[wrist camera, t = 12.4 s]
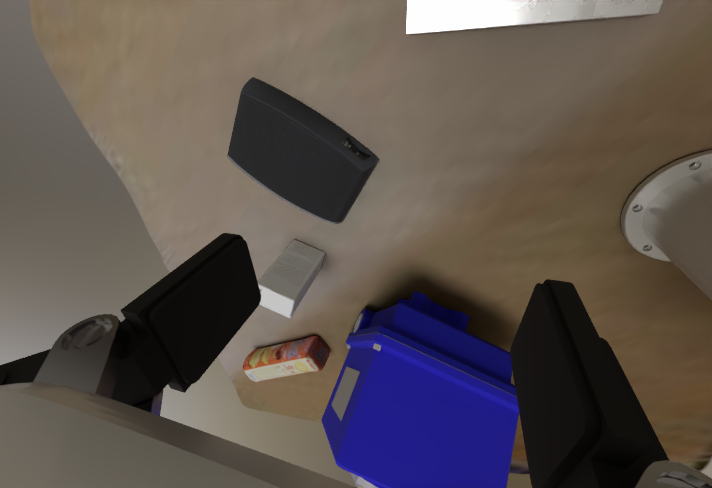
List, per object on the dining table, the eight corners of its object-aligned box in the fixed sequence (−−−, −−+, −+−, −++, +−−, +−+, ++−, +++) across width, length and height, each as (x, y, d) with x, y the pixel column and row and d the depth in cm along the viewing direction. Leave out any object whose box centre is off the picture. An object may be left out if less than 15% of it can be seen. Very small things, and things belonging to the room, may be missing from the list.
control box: (408, 266, 35) (291, 586, 24) (600, 358, 36) (576, 707, 25) (362, 298, 59) (293, 466, 48) (479, 353, 60) (438, 529, 49)
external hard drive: (341, 224, 46) (332, 237, 42) (234, 156, 45) (217, 164, 41) (383, 153, 38) (376, 163, 35) (256, 70, 37) (236, 71, 34)
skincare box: (290, 256, 52) (252, 302, 42) (294, 238, 49) (254, 282, 40) (321, 270, 51) (290, 319, 42) (326, 252, 49) (294, 300, 39)
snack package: (317, 330, 61) (303, 356, 56) (334, 351, 64) (322, 378, 58) (253, 345, 72) (237, 368, 66) (270, 362, 74) (255, 386, 69)
